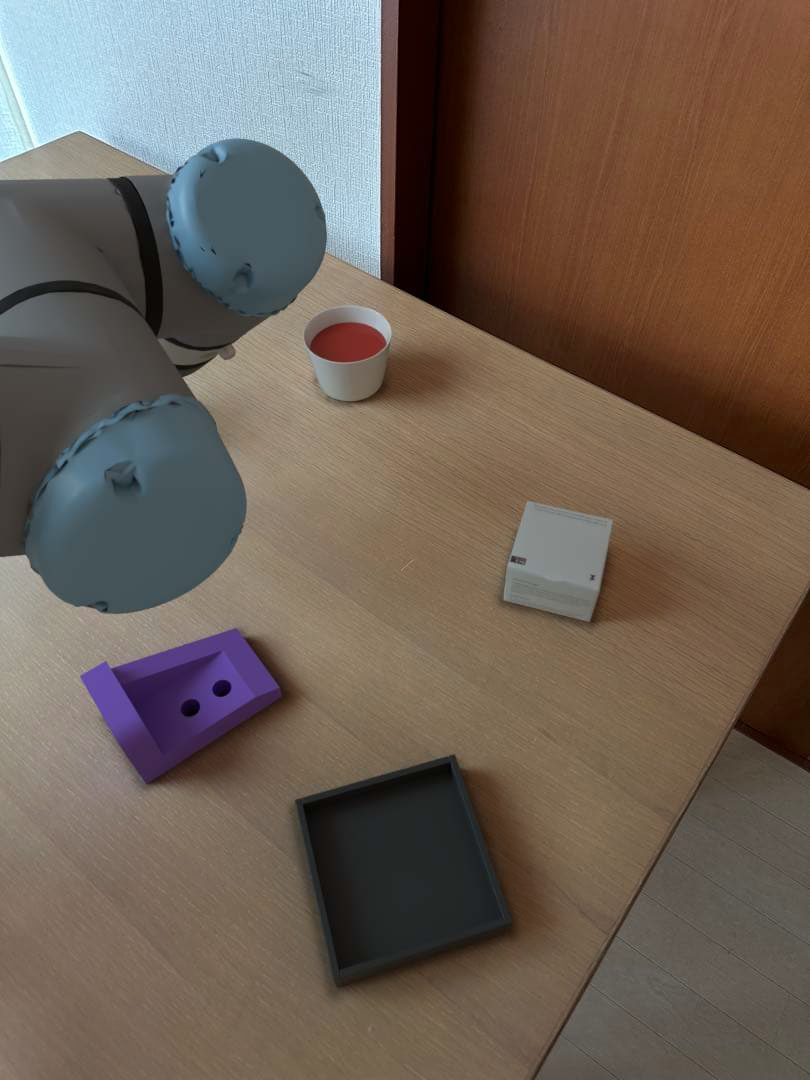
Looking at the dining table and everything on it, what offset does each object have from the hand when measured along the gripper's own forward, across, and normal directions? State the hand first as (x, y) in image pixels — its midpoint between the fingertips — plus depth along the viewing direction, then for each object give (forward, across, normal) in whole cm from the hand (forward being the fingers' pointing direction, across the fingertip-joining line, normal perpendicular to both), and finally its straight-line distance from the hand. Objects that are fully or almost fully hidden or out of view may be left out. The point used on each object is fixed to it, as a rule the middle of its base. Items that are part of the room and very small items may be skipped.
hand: (108, 377), depth 69 cm
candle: (+8, +24, -12) cm, 28 cm away
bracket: (-5, -11, -25) cm, 28 cm away
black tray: (-20, -9, -40) cm, 45 cm away
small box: (-14, +18, -35) cm, 42 cm away
